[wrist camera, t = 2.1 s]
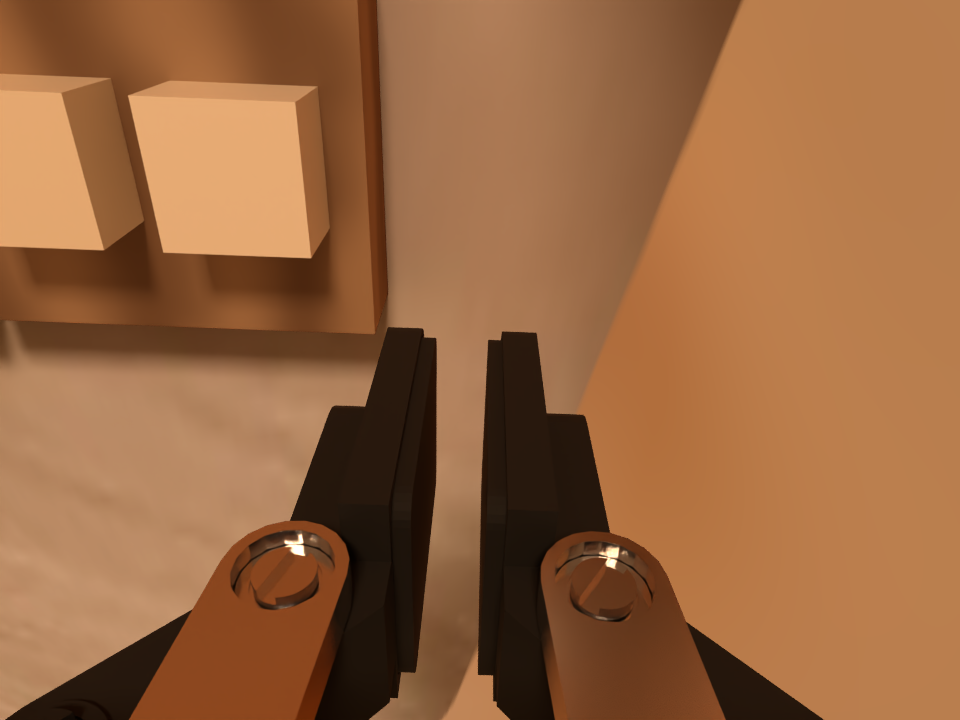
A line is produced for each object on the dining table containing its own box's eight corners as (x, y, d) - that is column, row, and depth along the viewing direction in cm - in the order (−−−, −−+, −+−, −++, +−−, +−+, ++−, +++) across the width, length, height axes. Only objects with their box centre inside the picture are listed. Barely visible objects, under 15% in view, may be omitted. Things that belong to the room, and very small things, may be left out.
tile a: (317, 86, 22) (294, 101, 20) (329, 228, 25) (311, 258, 22) (169, 80, 22) (128, 95, 20) (197, 223, 25) (163, 252, 22)
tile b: (110, 78, 22) (61, 92, 20) (144, 220, 25) (104, 250, 22) (-38, 72, 22) (-107, 86, 20) (11, 215, 25) (-45, 244, 22)
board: (373, -65, 23) (353, -70, 20) (388, 292, 31) (374, 334, 27) (-134, -86, 23) (-242, -95, 20) (-1, 278, 31) (-63, 317, 27)
